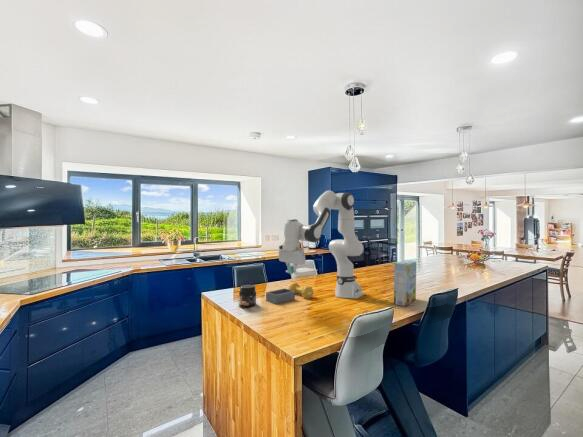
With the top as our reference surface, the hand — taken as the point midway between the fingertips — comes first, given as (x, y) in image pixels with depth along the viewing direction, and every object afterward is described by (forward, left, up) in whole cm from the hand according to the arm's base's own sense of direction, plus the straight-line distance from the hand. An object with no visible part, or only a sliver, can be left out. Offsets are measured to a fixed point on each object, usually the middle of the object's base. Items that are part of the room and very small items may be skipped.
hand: (291, 270), depth 169 cm
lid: (-8, 0, -1) cm, 8 cm away
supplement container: (+15, -24, -23) cm, 37 cm away
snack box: (-66, +36, -23) cm, 79 cm away
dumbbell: (-25, -19, -24) cm, 39 cm away
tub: (-7, -19, -23) cm, 31 cm away
